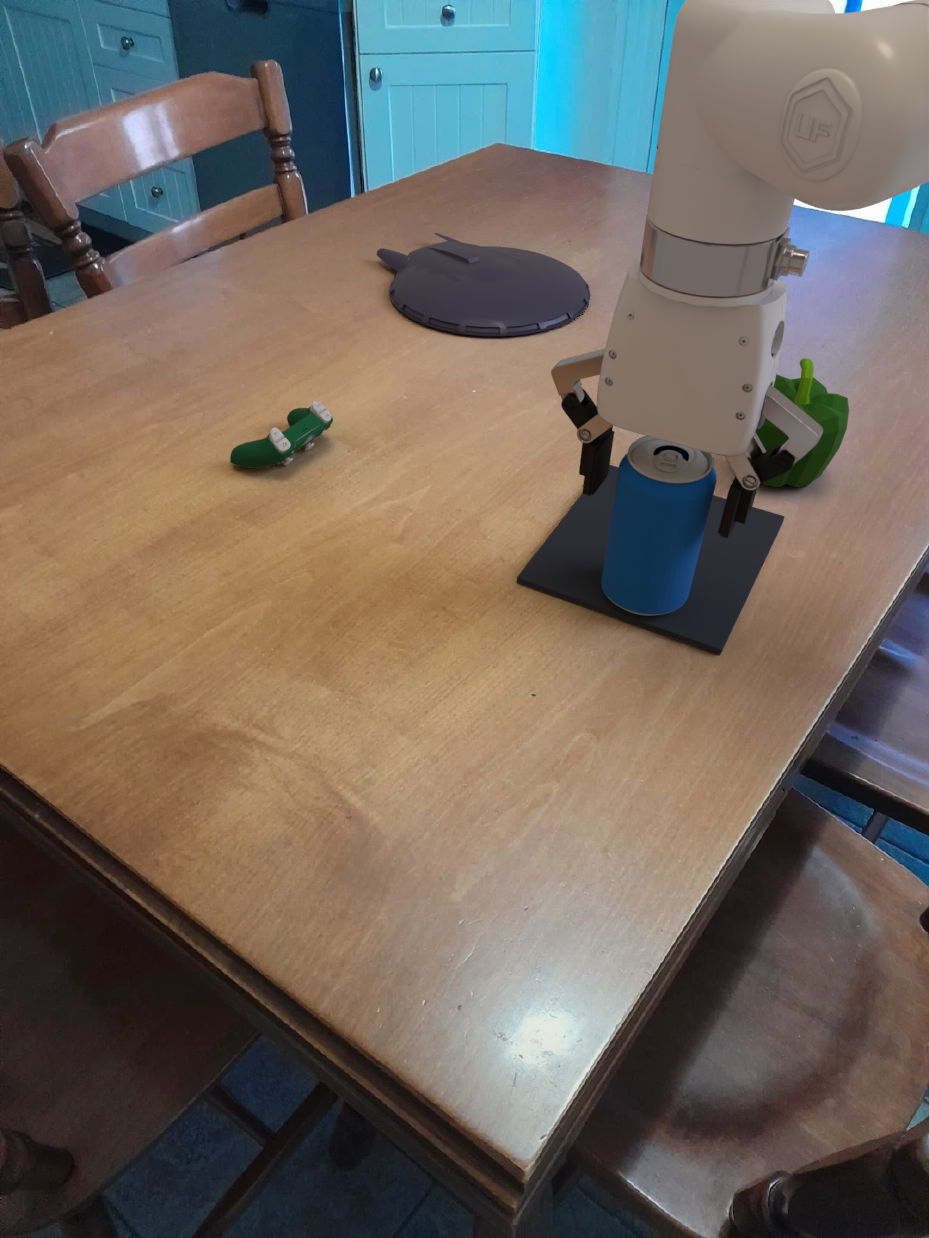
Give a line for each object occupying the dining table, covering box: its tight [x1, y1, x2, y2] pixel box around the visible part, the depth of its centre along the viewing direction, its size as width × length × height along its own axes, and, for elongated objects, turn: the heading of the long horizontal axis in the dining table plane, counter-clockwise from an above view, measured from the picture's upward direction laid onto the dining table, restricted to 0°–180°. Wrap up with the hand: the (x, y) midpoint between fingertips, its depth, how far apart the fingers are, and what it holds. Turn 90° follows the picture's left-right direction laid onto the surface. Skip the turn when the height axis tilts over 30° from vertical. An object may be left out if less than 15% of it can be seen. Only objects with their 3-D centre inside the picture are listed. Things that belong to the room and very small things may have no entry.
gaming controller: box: [229, 400, 334, 469], centre depth 80 cm, size 9×4×6 cm
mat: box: [516, 464, 785, 656], centre depth 72 cm, size 16×18×1 cm
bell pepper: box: [755, 357, 850, 488], centre depth 77 cm, size 8×8×10 cm
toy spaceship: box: [376, 232, 591, 337], centre depth 108 cm, size 28×24×3 cm
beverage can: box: [601, 435, 718, 616], centre depth 63 cm, size 6×6×12 cm
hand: (660, 505), depth 62 cm, fingers open, 9 cm apart
